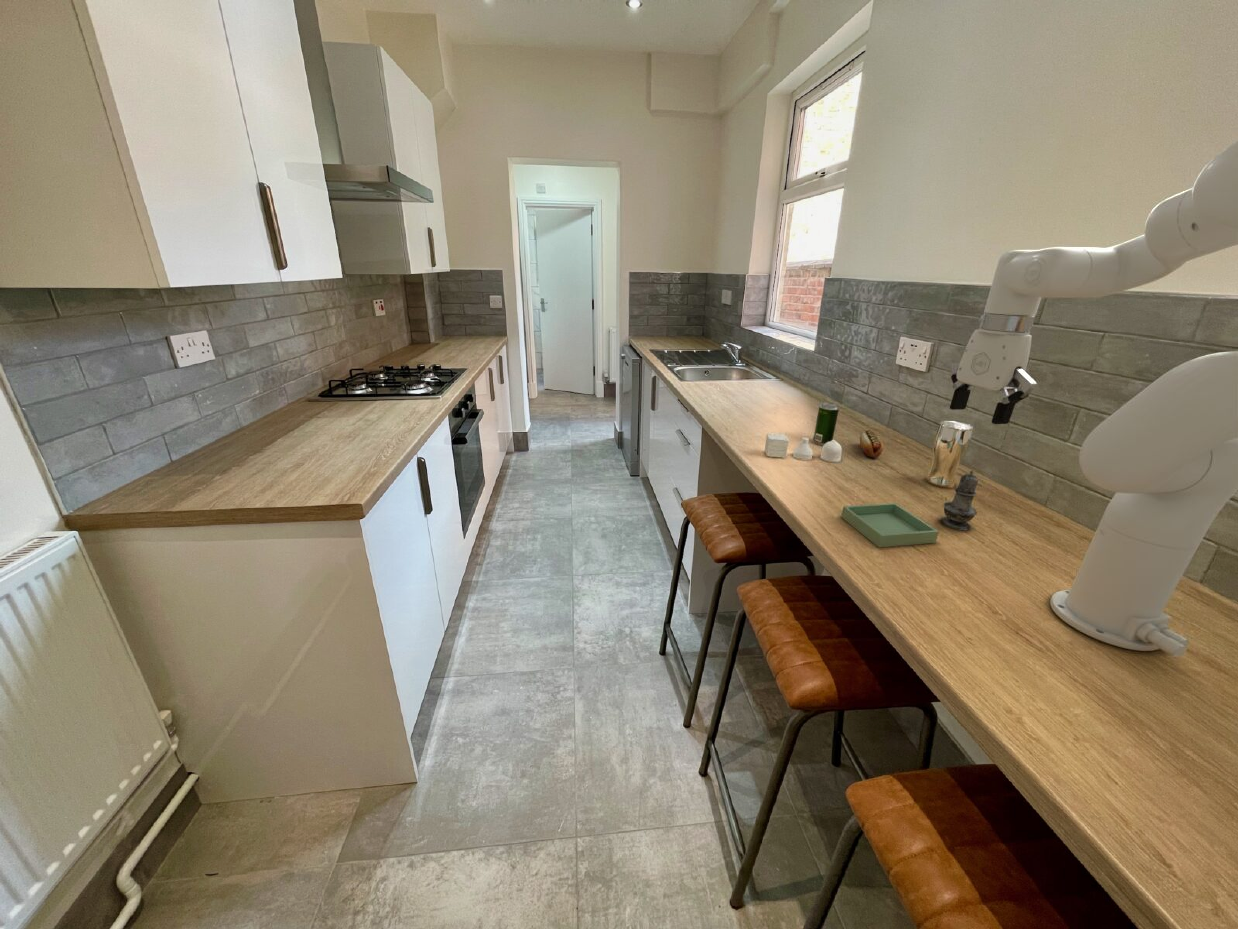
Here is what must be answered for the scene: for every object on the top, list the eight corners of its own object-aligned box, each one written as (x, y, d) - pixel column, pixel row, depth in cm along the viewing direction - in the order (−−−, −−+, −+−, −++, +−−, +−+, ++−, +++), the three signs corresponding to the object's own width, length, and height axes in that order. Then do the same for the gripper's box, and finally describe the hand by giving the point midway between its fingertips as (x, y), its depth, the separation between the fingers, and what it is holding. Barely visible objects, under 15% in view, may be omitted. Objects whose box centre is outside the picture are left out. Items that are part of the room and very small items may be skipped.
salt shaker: (977, 532, 98) (996, 477, 93) (945, 529, 99) (962, 474, 94) (964, 518, 103) (981, 466, 99) (934, 515, 104) (949, 463, 100)
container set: (767, 457, 134) (769, 439, 132) (764, 451, 139) (766, 432, 137) (842, 462, 132) (846, 443, 130) (837, 455, 137) (841, 437, 134)
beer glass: (950, 491, 116) (969, 431, 110) (919, 482, 121) (935, 424, 115) (960, 483, 120) (978, 425, 114) (929, 475, 125) (945, 418, 119)
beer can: (827, 447, 143) (834, 407, 138) (809, 442, 146) (816, 403, 142) (834, 443, 146) (842, 404, 142) (817, 438, 150) (824, 400, 145)
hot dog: (862, 459, 134) (866, 442, 133) (855, 443, 146) (859, 428, 144) (882, 461, 133) (886, 444, 131) (873, 445, 145) (877, 429, 143)
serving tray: (935, 542, 94) (939, 531, 93) (878, 547, 92) (881, 535, 91) (892, 513, 105) (895, 502, 104) (840, 516, 103) (843, 506, 102)
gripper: (949, 319, 95) (926, 404, 102) (1033, 330, 79) (1000, 430, 86) (982, 319, 96) (958, 403, 103) (1071, 330, 81) (1036, 429, 87)
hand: (977, 416), depth 94 cm, fingers open, 9 cm apart
